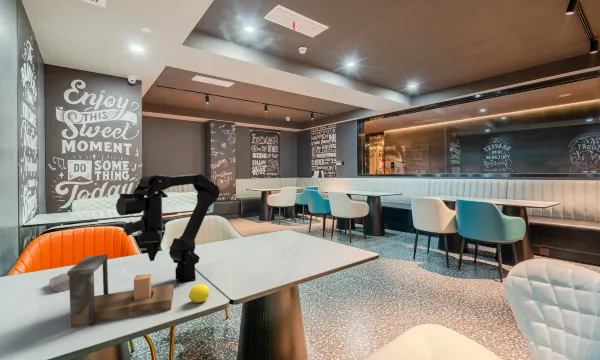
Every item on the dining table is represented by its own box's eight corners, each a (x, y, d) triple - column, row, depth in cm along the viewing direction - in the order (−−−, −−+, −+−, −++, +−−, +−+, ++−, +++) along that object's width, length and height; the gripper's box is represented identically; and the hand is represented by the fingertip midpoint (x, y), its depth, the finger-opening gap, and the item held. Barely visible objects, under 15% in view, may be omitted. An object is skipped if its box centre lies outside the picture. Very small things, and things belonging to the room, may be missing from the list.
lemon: (202, 297, 90) (204, 280, 91) (212, 301, 87) (214, 284, 87) (183, 302, 84) (185, 284, 85) (193, 307, 81) (195, 289, 82)
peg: (151, 301, 86) (150, 273, 86) (149, 307, 83) (149, 277, 82) (136, 304, 85) (136, 275, 85) (134, 310, 81) (133, 280, 81)
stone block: (53, 299, 93) (89, 284, 100) (49, 286, 92) (85, 272, 99) (49, 291, 101) (82, 278, 108) (45, 279, 100) (78, 266, 107)
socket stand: (173, 291, 93) (172, 247, 93) (170, 311, 80) (169, 259, 80) (88, 305, 84) (86, 256, 84) (68, 329, 71) (67, 271, 71)
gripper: (130, 209, 99) (132, 252, 99) (118, 217, 81) (119, 268, 82) (165, 208, 103) (166, 249, 103) (159, 214, 86) (161, 264, 86)
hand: (153, 256), depth 93 cm, fingers open, 9 cm apart
